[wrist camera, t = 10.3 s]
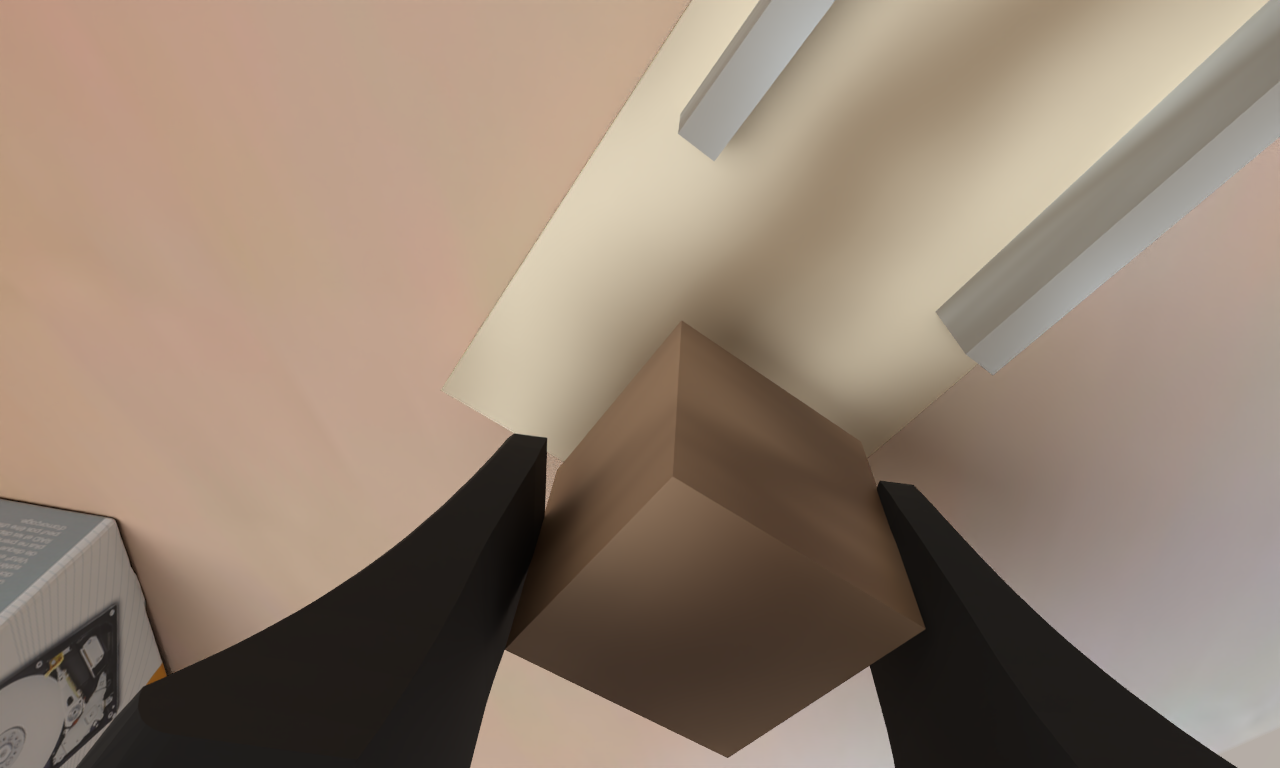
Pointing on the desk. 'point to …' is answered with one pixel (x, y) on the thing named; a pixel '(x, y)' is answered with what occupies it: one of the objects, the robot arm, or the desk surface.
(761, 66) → the channel board
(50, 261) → the desk surface
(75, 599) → the hard drive box
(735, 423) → the walnut cube
